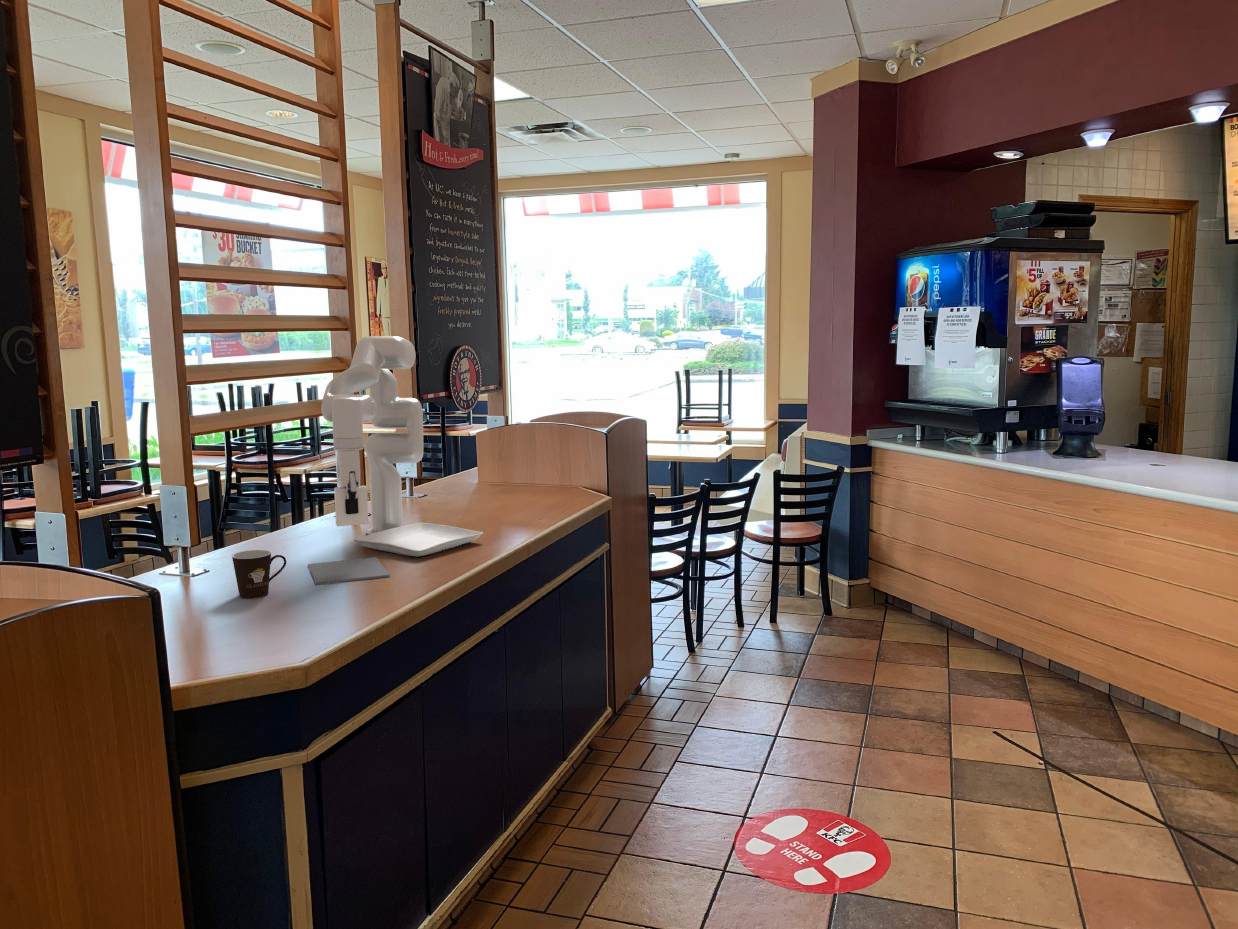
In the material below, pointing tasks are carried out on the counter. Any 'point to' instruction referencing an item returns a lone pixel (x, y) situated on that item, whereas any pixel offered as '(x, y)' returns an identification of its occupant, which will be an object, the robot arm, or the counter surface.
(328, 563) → the mat
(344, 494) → the tile
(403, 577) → the counter surface
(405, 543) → the square plate
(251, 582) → the coffee mug
